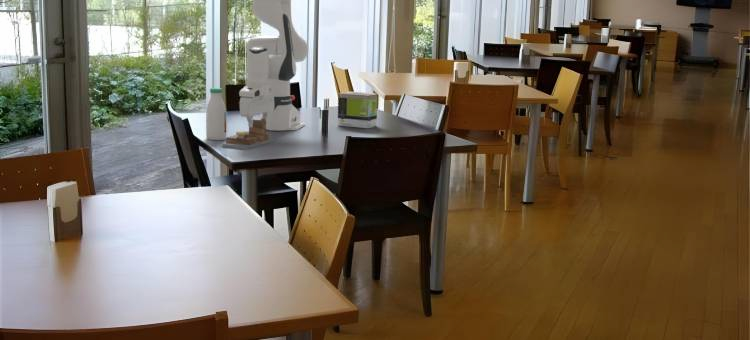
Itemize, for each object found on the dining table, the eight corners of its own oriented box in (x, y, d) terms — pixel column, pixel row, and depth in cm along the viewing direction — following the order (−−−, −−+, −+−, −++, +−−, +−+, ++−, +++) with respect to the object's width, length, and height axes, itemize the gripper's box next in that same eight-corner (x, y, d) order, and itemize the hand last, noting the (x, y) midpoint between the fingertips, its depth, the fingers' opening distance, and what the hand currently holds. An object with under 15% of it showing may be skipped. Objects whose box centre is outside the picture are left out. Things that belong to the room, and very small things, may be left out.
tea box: (377, 126, 381) (378, 93, 378) (367, 129, 372) (368, 95, 369) (347, 122, 387) (347, 90, 384) (336, 125, 378) (337, 92, 375)
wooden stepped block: (248, 136, 338) (248, 118, 337) (270, 139, 334) (270, 121, 333) (226, 142, 324) (226, 124, 322) (248, 145, 320) (248, 126, 319)
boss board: (250, 138, 340) (250, 125, 339) (272, 141, 336) (272, 127, 335) (222, 146, 322) (222, 132, 321) (245, 149, 318) (245, 135, 317)
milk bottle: (222, 141, 333) (221, 90, 329) (203, 139, 334) (202, 88, 330) (229, 138, 340) (229, 87, 336) (210, 136, 342) (210, 86, 337)
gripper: (264, 86, 342) (264, 120, 345) (236, 92, 323) (236, 128, 327) (278, 87, 339) (278, 121, 342) (251, 93, 321) (251, 129, 324)
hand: (257, 125), depth 334 cm, fingers open, 8 cm apart
